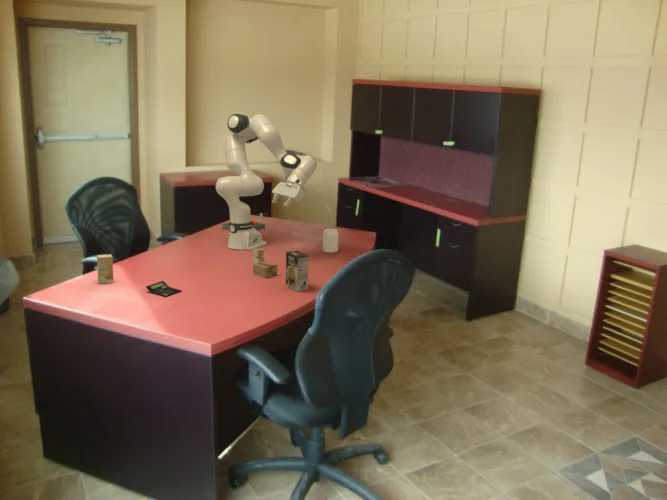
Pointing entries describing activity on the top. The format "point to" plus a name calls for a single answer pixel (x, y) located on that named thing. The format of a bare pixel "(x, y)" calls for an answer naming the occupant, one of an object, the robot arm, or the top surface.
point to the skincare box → (105, 268)
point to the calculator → (162, 289)
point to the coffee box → (297, 270)
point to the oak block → (258, 255)
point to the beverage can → (330, 240)
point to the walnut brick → (265, 269)
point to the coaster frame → (257, 226)
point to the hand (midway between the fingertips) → (278, 204)
